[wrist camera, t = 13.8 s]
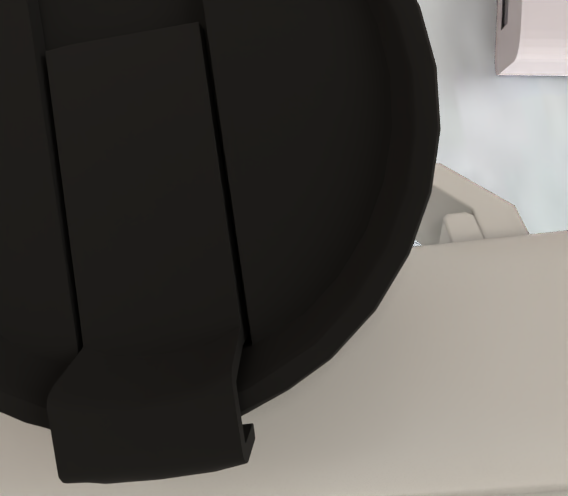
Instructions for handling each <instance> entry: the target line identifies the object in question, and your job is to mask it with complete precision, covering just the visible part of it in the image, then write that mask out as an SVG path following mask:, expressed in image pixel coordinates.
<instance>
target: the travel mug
mask: <svg viewBox="0 0 568 496" xmlns="http://www.w3.org/2000/svg"><path fill="white" fill-rule="evenodd" d="M439 136H440V115H439V99H438V83H437V67H436V63H435V59H434V56H433V52H432V48H431V45H430V41H429V38H428V34H427V30H426V27H425V23H424V19H423V16H422V12H421V9H420V6H419V4H418V2H417V0H0V412H1V413H4V414H6V415H8V416H11V417H13V418H15V419H18V420H20V421H22V422H25V423H28V424H32V425H36V426H40V427H43V428H47V429H50V430H51V436H52V442H53V448H54V454H55V460H56V466H57V472H58V478H59V479H60V480H61V481H62V483H66V484H70V483H98V484H113V483H125V482H137V481H149V480H161V479H168V478H175V477H182V476H189V475H196V474H203V473H210V472H216V471H220V470H224V469H228V468H231V467H235V466H239V465H243V464H247V463H248V461H249V458H250V455H251V451H252V448H253V445H254V442H255V431H254V424H253V423H250V424H242V419H241V416H243V415H245V414H247V413H249V412H250V411H252V410H254V409H256V408H258V407H259V406H261V405H263V404H265V403H266V402H268V401H270V400H272V399H274V398H275V397H277V396H279V395H281V394H283V393H284V392H286V391H288V390H290V389H291V388H292V387H294V386H295V385H296V384H298V383H299V382H301V381H302V380H303V379H305V378H306V377H307V376H309V375H310V374H312V373H313V372H314V371H316V370H317V369H318V368H320V367H321V366H323V365H324V364H325V363H327V362H328V361H329V360H331V359H332V358H333V357H334V356H335V355H336V354H337V353H338V351H339V350H340V349H341V348H342V347H343V346H344V345H345V344H346V343H347V342H348V340H349V339H350V338H351V337H352V336H353V335H354V334H355V333H356V332H357V331H358V330H359V328H360V327H361V326H362V325H363V324H364V323H365V322H366V321H367V320H368V319H369V318H370V316H371V315H372V314H373V313H374V312H375V311H376V310H377V308H378V306H379V305H380V303H381V301H382V300H383V298H384V296H385V295H386V293H387V291H388V290H389V288H390V286H391V285H392V283H393V281H394V280H395V278H396V276H397V275H398V273H399V271H400V270H401V268H402V266H403V265H404V263H405V261H406V260H407V258H408V256H409V255H410V252H411V249H412V246H413V244H414V241H415V238H416V235H417V232H418V230H419V227H420V224H421V221H422V218H423V215H424V213H425V210H426V207H427V204H428V201H429V199H430V196H431V193H432V186H433V179H434V172H435V164H436V157H437V150H438V143H439Z"/></svg>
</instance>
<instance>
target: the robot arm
mask: <svg viewBox="0 0 568 496" xmlns="http://www.w3.org/2000/svg"><path fill="white" fill-rule="evenodd" d="M415 239H416V240H417V241H418V242H419V243H420V244H421V245H422V246H414V247H412V249H411V252H410V255H409V256H408V258H407V260H406V261H405V263H404V265H403V266H402V268H401V270H400V271H399V273H398V275H397V276H396V278H395V280H394V281H393V283H392V285H391V286H390V288H389V290H388V291H387V293H386V295H385V296H384V298H383V300H382V301H381V303H380V305H379V306H378V308H377V310H376V311H375V312H374V313H373V314H372V315H371V316H370V318H369V319H368V320H367V321H366V322H365V323H364V324H363V325H362V326H361V327H360V328H359V330H358V331H357V332H356V333H355V334H354V335H353V336H352V337H351V338H350V339H349V340H348V342H347V343H346V344H345V345H344V346H343V347H342V348H341V349H340V350H339V351H338V353H337V354H336V355H335V356H334V357H333V358H332V359H331V360H329V361H328V362H327V363H325V364H324V365H323V366H321V367H320V368H318V369H317V370H316V371H314V372H313V373H312V374H310V375H309V376H307V377H306V378H305V379H303V380H302V381H301V382H299V383H298V384H296V385H295V386H294V387H292V388H291V389H290V390H288V391H286V392H284V393H283V394H281V395H279V396H277V397H275V398H274V399H272V400H270V401H268V402H266V403H265V404H263V405H261V406H259V407H258V408H256V409H254V410H252V411H250V412H249V413H247V414H245V415H243V416H241V419H242V424H250V423H253V424H254V431H255V442H254V445H253V448H252V451H251V455H250V458H249V461H248V463H247V464H243V465H239V466H235V467H231V468H228V469H224V470H220V471H216V472H210V473H203V474H196V475H189V476H182V477H175V478H168V479H161V480H149V481H137V482H125V483H113V484H98V483H70V484H66V483H62V481H61V480H60V479H59V478H58V472H57V466H56V460H55V454H54V448H53V442H52V436H51V430H50V429H47V428H43V427H40V426H36V425H32V424H28V423H25V422H22V421H20V420H18V419H15V418H13V417H11V416H8V415H6V414H4V413H1V412H0V496H568V230H566V231H557V232H547V233H538V234H529V232H528V230H527V228H526V226H525V224H524V223H523V221H522V219H521V217H520V215H519V213H518V211H517V209H516V207H515V205H513V204H511V203H509V202H507V201H506V200H504V199H502V198H500V197H499V196H497V195H495V194H493V193H492V192H490V191H488V190H486V189H485V188H483V187H481V186H479V185H478V184H476V183H474V182H472V181H470V180H469V179H467V178H465V177H463V176H462V175H460V174H458V173H456V172H455V171H453V170H451V169H449V168H448V167H446V166H444V165H442V164H441V163H436V164H435V172H434V179H433V186H432V193H431V196H430V199H429V201H428V204H427V207H426V210H425V213H424V215H423V218H422V221H421V224H420V227H419V230H418V232H417V235H416V238H415Z"/></svg>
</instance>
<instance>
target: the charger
mask: <svg viewBox="0 0 568 496" xmlns="http://www.w3.org/2000/svg"><path fill="white" fill-rule="evenodd" d="M495 71H496V75H537V76H568V0H498V3H497V23H496V44H495Z"/></svg>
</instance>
